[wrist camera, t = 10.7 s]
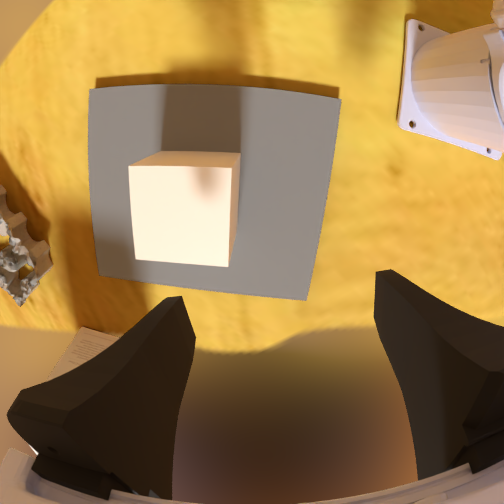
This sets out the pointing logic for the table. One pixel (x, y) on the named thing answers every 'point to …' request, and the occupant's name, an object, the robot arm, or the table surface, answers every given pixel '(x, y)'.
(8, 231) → the egg carton
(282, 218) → the mat
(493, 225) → the table surface
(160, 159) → the cube
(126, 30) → the table surface
